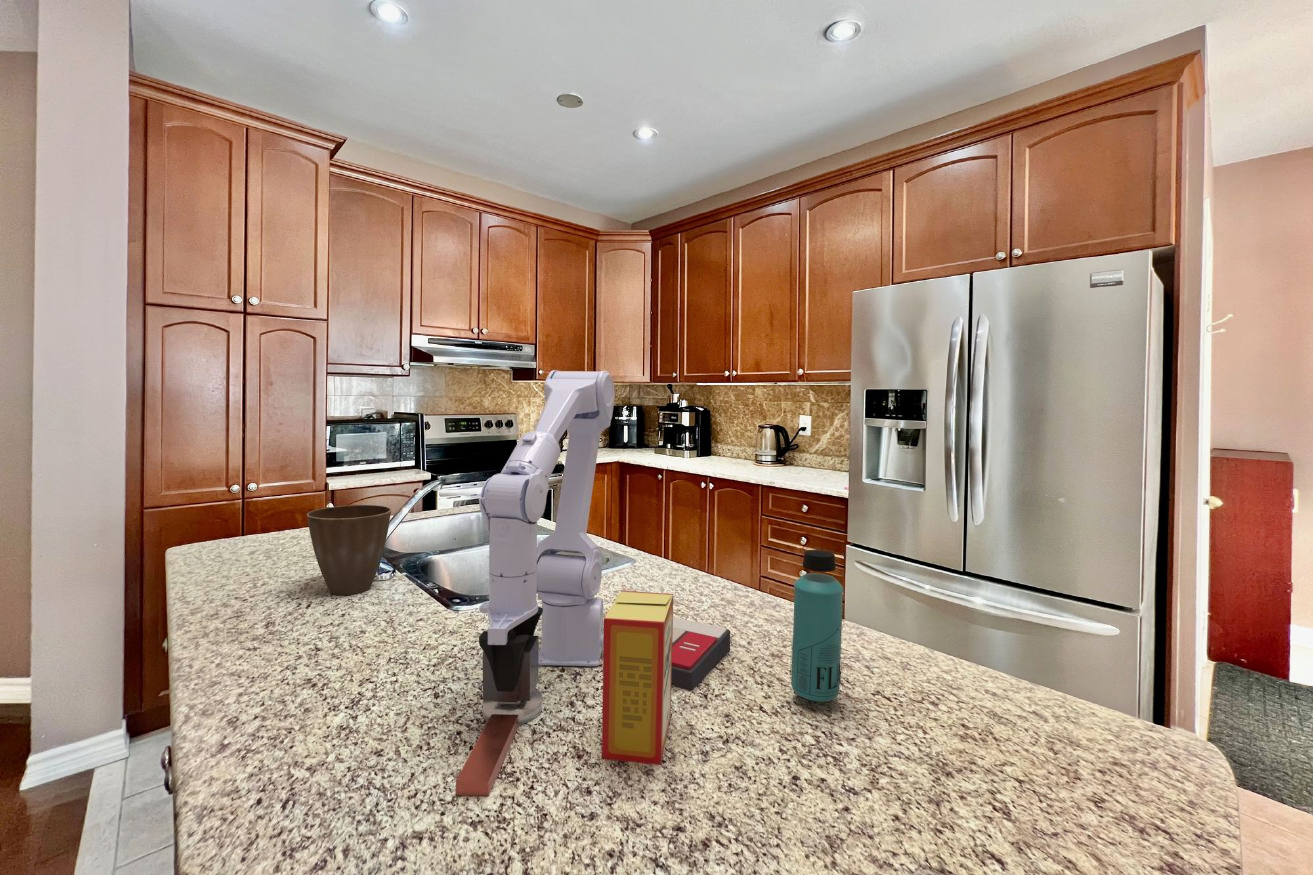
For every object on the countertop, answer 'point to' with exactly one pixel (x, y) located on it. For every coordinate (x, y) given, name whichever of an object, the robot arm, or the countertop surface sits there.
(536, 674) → the socket
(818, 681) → the beverage bottle
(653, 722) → the baking soda box
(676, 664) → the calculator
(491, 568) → the robot arm
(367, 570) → the plant pot
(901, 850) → the countertop surface
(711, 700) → the countertop surface
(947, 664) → the countertop surface
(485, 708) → the ratchet
